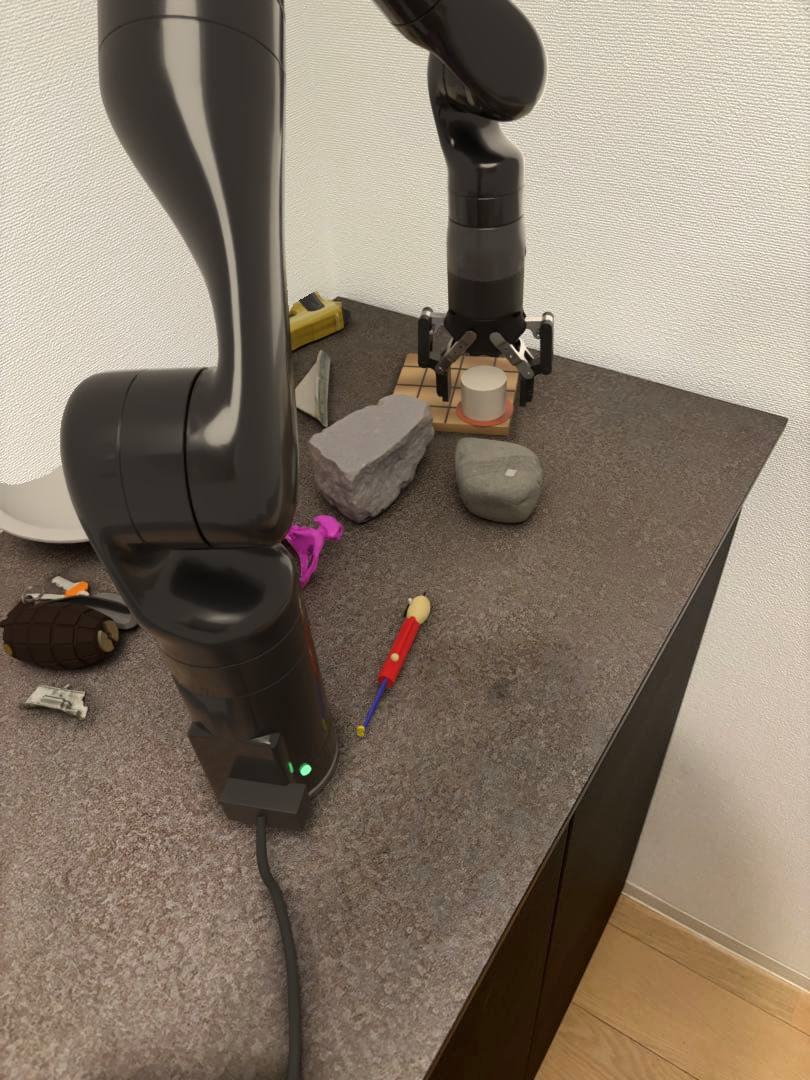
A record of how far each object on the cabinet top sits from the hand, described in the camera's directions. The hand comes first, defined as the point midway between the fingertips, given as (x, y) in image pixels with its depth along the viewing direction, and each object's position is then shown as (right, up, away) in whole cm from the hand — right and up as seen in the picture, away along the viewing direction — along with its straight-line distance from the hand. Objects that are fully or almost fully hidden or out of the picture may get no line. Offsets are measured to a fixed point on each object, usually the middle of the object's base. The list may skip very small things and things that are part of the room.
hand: (485, 400), depth 88 cm
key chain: (-38, -20, -16) cm, 46 cm away
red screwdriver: (-6, -27, -23) cm, 36 cm away
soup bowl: (-41, -10, -3) cm, 42 cm away
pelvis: (-21, -19, -14) cm, 32 cm away
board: (-3, +1, +5) cm, 6 cm away
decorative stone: (-12, -9, -5) cm, 16 cm away
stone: (0, -11, -8) cm, 14 cm away
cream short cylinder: (0, -1, +1) cm, 1 cm away
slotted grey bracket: (-38, -29, -25) cm, 54 cm away
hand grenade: (-32, -23, -22) cm, 45 cm away
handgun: (-30, +16, +21) cm, 40 cm away
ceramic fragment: (-19, +2, +7) cm, 20 cm away
